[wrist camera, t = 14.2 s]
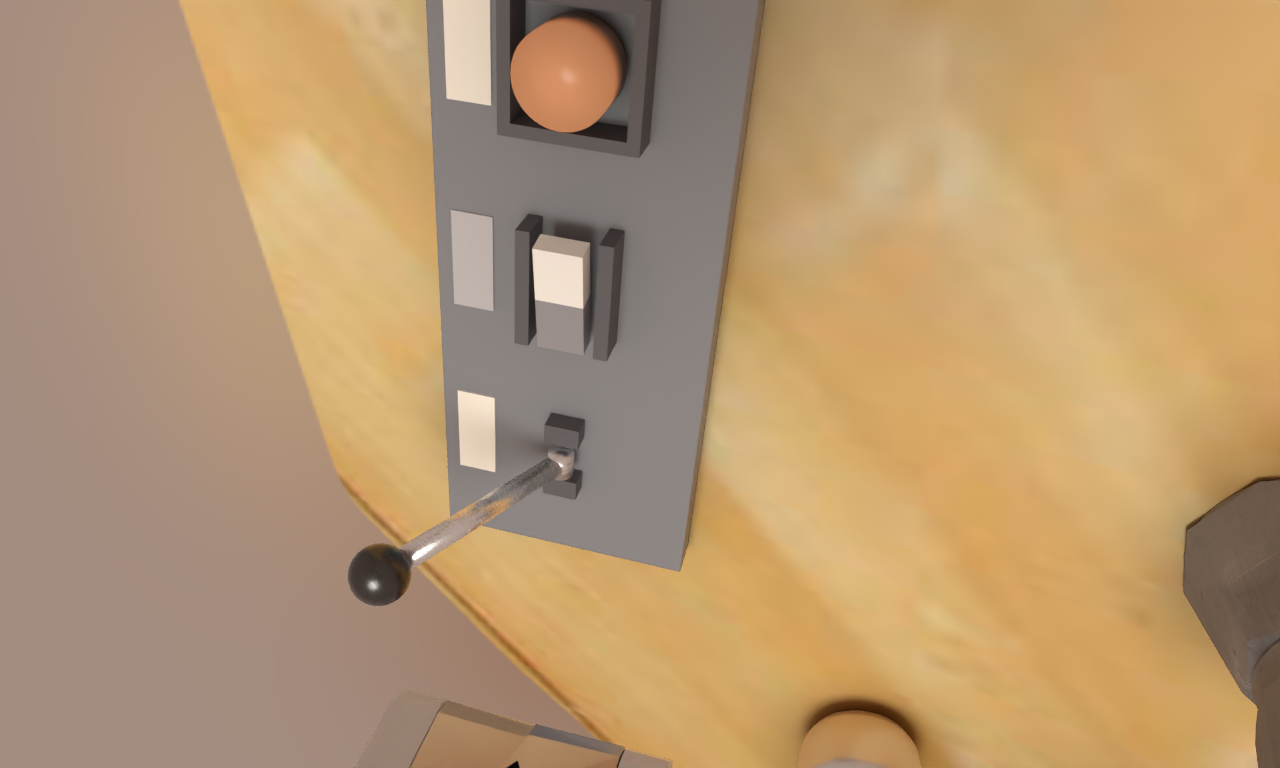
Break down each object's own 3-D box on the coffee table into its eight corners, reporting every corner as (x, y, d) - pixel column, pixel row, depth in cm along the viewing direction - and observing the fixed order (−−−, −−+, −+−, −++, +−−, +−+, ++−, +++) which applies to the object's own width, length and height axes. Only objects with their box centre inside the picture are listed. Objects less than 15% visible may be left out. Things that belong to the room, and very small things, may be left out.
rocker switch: (540, 233, 38) (532, 248, 37) (590, 242, 38) (582, 258, 37) (545, 331, 41) (537, 346, 41) (590, 339, 41) (583, 355, 40)
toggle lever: (552, 424, 45) (331, 552, 37) (590, 447, 44) (370, 585, 36) (551, 464, 46) (338, 596, 39) (587, 488, 45) (375, 629, 37)
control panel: (443, -152, 34) (397, -143, 31) (780, -113, 32) (766, -98, 30) (465, 493, 51) (437, 539, 48) (688, 544, 49) (672, 595, 47)
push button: (530, 4, 34) (510, 18, 32) (630, 18, 33) (615, 33, 32) (529, 106, 36) (510, 124, 34) (623, 121, 35) (608, 139, 34)
